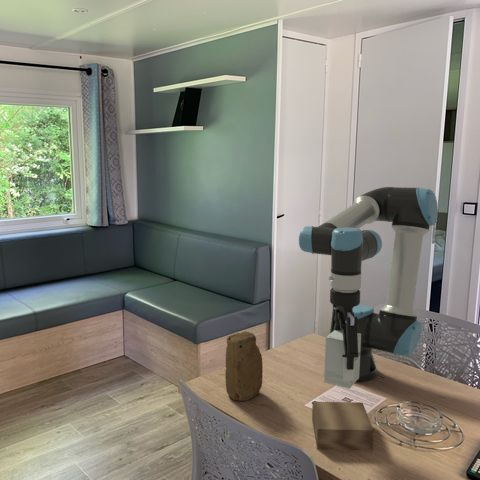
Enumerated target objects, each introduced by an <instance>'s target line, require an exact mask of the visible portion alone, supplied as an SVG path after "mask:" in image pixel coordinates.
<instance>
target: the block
mask: <svg viewBox="0 0 480 480" xmlns="http://www.w3.org/2000/svg"><path fill="white" fill-rule="evenodd" d="M226 344H227V345H226V350H225V372H224V373H225V375H224V376H225V388H226V393H227V394H228V396H229V397H230V398H231V399H232V400H233V401H238V402H239V401H240V402H241V401H243V402H244V401H248V400H251V399H252V398H254V397H256V396H257V395H259V392H260V390H261V388H262V387H263V371H264V370H263V366H264V365H263V355H262V353H261V351H260V348H259V346H258V345H257V337H256V335H255V334H254V333H253V332H250V331H242V332H236V333H233V334H231V335H228V336H227V338H226Z"/></svg>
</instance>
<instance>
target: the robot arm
mask: <svg viewBox="0 0 480 480" xmlns="http://www.w3.org/2000/svg"><path fill="white" fill-rule="evenodd" d="M438 208H439V207H438V201H437V196H436V194H435V192H434V191H433V190H432V189H430V188H423V187H401V186H400V187H396V186H395V187H394V186H382V187H379V188H375V189H372V190H370V191H367V192H365V193H363V194H361V195H360V196H358V197H357V198H355V199H354V201H353V202H352V204H351V205H349V206H348V207H346V208H345V209H343V210H342V211H340V212H338V213H337V214H335V215H333V216H332V217H331V218H329V219H328V220H326V221H325V222H323V223H322V224H320V225H319V226H313V225H312V226H311V225H310V226H307V225H306V226H304V227H302V229H301V230H300V231H299V232H300V233H299V235H298V246H299V248H300V250H301V251H303V252H304V253H311V254H312V255H313V254H315V255H324V256H331V257H330V259H331V260H330V262H331V264H330V276H328V280H329V281H330V287H331V289H330V291H329V292H330V293H329V302H330V303H331V304H332V314H331V315H332V316H331V322H330V328H329V329H330V331H329V334H330V333H332V332H333V331H334V330H342V332H343V341H344V350H345V355H342V357H343V381H354V368H355V357H358V337H357V333H359V334H361V348H360V369H359V379H358V380H357V381H356V382H366V381H370V380H373V379H374V378H375V377H376V376H377V366H376V365H377V364H376V361H375V358H374V355H373V352H372V351H373V350H376V351H381V352H384V353H385V352H386V353H389V354H393V355H395V356H403V357H410V356H411V355H412V354H413V353H414V352H415V351H416V349H417V347H418V345H419V343H420V339H421V335H422V330H423V329H422V327H423V326H422V323H421V322H420V321H418V320H417V318H418V315H417V313H416V312H415V310H414V304H415V297H416V296H415V295H416V289H417V282H418V275H419V268H420V261H421V253H422V247H423V239H424V236H425V235H426V234H428V233H429V232H430V226H431V227H433V226H435V225H436V224H437V220H438V212H439V211H438V210H439V209H438ZM374 222H388V223H391V229H392V230H394V239H393V240H394V241H393V248H392V249H393V250H392V256H391V262H390V269H389V276H388V283H387V292H386V297H385V298H386V299H385V304H384V306H382V307H380V308H379V313H375V309H374V307H372V306H371V305H368V304H367V305H366V304H360V303H361V290H360V289H361V287H362V262H363V261H365V260H369V259H372V258H374V257H375V256H376V255H378V254H379V253H380V251H381V249H382V247H383V242H382V238H381V235H380V234H379V233H378V232H376V231H374V230H372V229H363V230H361V228H362V227H364V226H365V225H367V224H372V223H374Z"/></svg>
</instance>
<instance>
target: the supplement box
mask: <svg viewBox="0 0 480 480" xmlns="http://www.w3.org/2000/svg"><path fill="white" fill-rule="evenodd" d="M357 337H358V357H355V368H354V381H343V357H342V355H345V350H344V341H343V332H342V330H334V331H333V332H332V333H330V332H329V334H328V335H326V336H325V342H324V343H325V348H324V350H325V351H324V370H323V373H324V374H323V377H324V378H323V382H324V383H326V384H329V385H333V386H337V387H341V388H343V389H344V388H345V389H347V390H348V389H349V390H350V389H351V388H352V387H353V386H354V384H355V383H356V382H358V381H357V380H358V379H359V369H360V348H361V334H359V333H357Z"/></svg>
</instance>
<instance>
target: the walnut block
mask: <svg viewBox="0 0 480 480" xmlns="http://www.w3.org/2000/svg"><path fill="white" fill-rule="evenodd" d="M311 402H312V403H311V404H312V407H311V408H312V409H311V415H312V416H311V417H312V418H311V421H312V427H313V433H314V440H315V444H316V450H323V451H325V450H328V451H329V449H330V451H331V450H332V451H362V452H363V451H366V452H370V451H371V452H373V451H374V450H373V448H374V447H373V446H374V428H373V426H372V423H371V420H370V418H369V416H368V412H367V411H366V410H367V409H366V408H365V405H364V402H356V401H355V402H354V401H353V402H351V401H311ZM334 449H335V450H334Z"/></svg>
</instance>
